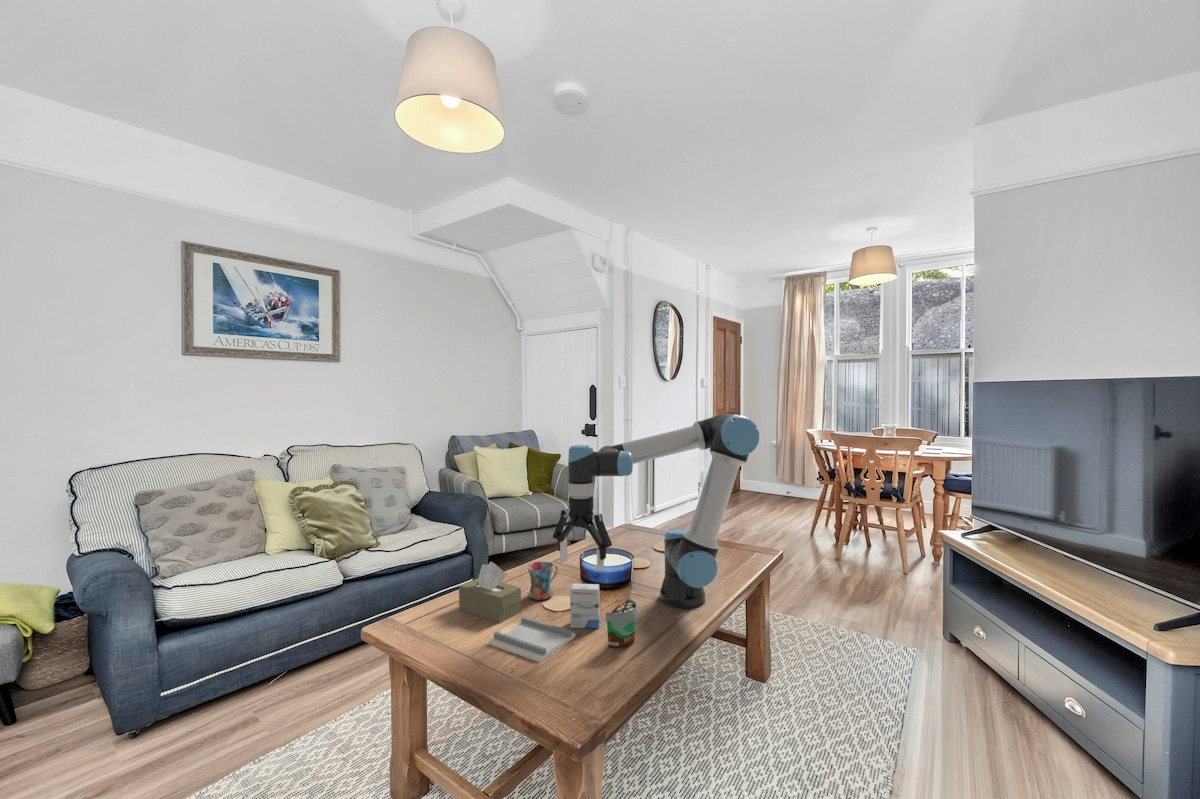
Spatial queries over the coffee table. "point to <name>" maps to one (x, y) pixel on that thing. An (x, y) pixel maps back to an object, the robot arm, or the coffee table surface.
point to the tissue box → (490, 595)
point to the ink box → (584, 606)
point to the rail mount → (532, 639)
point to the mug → (541, 580)
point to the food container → (622, 625)
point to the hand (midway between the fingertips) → (581, 565)
